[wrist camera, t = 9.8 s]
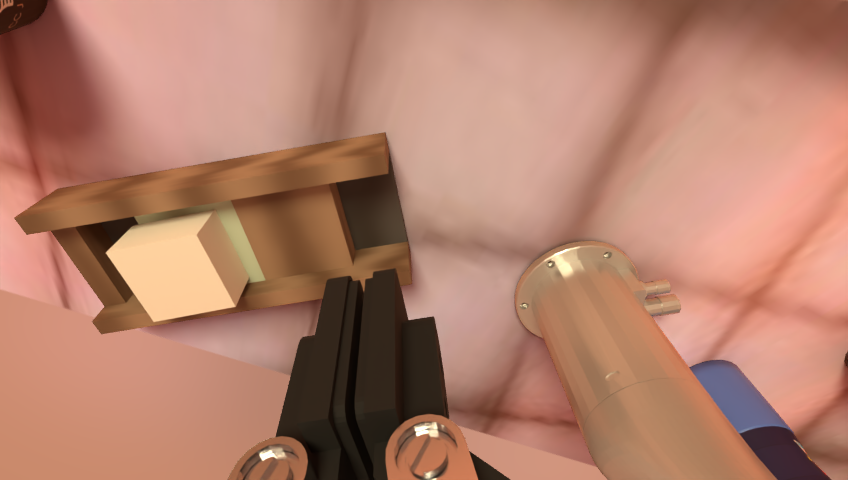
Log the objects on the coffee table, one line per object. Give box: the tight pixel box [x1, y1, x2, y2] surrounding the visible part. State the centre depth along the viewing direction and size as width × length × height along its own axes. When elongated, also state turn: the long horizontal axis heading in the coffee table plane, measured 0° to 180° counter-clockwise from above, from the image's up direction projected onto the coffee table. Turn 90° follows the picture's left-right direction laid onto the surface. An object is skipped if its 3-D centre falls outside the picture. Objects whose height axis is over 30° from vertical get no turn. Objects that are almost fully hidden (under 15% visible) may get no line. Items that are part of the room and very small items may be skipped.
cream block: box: [106, 209, 249, 322], centre depth 36 cm, size 7×7×4 cm
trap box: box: [15, 133, 412, 334], centre depth 38 cm, size 28×12×5 cm, turn 99°
